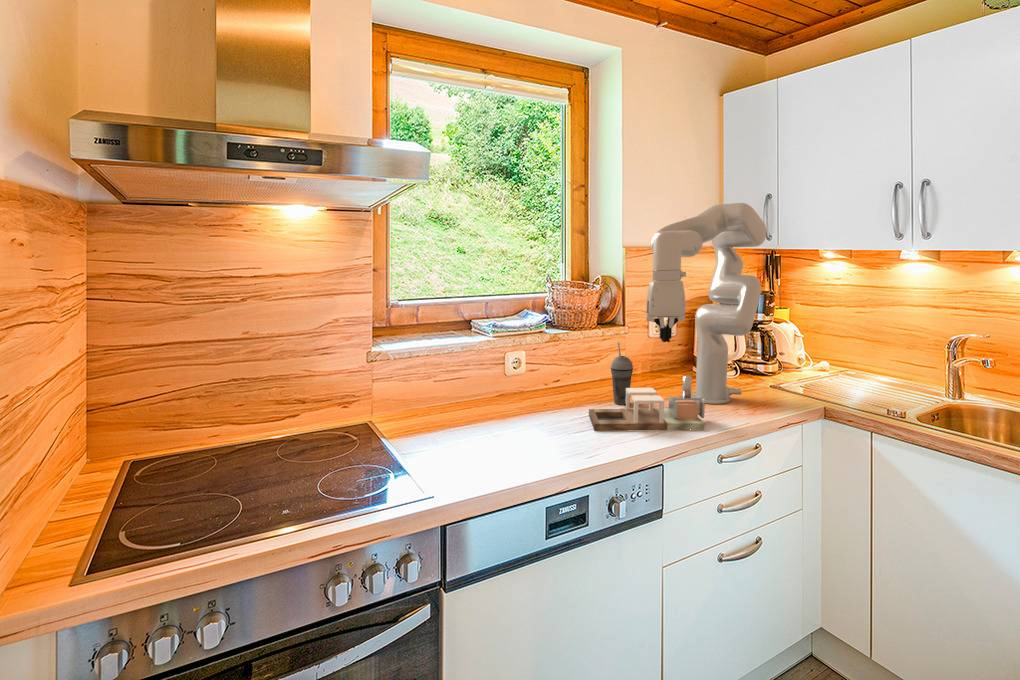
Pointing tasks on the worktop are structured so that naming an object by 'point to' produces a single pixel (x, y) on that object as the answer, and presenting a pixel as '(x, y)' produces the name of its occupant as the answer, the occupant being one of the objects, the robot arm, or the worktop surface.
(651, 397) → the toy bench
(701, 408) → the slider
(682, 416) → the block
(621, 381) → the beverage cup
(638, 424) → the board
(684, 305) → the robot arm
